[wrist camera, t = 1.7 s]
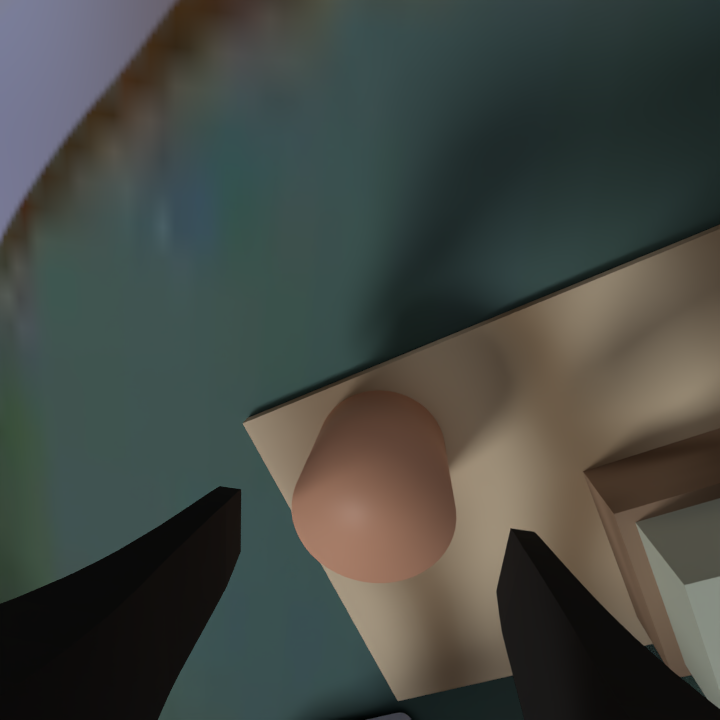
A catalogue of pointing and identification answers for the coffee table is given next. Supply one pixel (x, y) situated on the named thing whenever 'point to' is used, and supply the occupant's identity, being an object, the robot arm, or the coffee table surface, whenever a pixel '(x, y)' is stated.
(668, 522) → the tower top
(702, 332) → the board
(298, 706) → the coffee table surface
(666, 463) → the tower base
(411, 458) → the cylinder
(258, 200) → the coffee table surface
